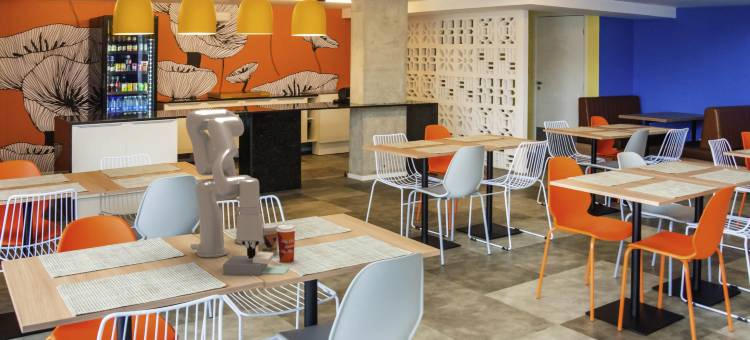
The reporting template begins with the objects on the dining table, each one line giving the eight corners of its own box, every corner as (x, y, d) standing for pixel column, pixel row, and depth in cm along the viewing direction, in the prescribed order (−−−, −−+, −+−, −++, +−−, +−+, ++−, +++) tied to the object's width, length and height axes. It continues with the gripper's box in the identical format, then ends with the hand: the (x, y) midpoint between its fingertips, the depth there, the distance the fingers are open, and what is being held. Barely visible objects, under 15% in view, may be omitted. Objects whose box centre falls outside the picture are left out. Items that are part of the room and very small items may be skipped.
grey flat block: (223, 274, 290) (223, 264, 289) (232, 265, 303) (232, 255, 302) (259, 275, 289) (259, 265, 288) (267, 265, 301) (267, 255, 301)
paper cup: (283, 264, 303) (282, 229, 301) (273, 260, 310) (272, 226, 307) (300, 261, 308) (299, 227, 306) (290, 257, 314) (289, 223, 312)
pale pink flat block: (252, 262, 290) (252, 257, 290) (258, 256, 299) (258, 251, 299) (268, 264, 290) (268, 258, 290) (273, 257, 299) (273, 252, 298)
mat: (261, 273, 291) (261, 273, 291) (267, 266, 300) (267, 265, 300) (284, 274, 290) (284, 273, 290) (289, 267, 300) (289, 266, 300)
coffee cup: (259, 257, 314) (258, 229, 312) (254, 252, 322) (253, 224, 320) (281, 255, 317) (281, 226, 315) (276, 250, 326) (275, 222, 324)
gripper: (227, 212, 289) (229, 260, 292) (266, 213, 287) (268, 260, 290) (233, 208, 296) (235, 254, 299) (271, 209, 295) (272, 255, 298)
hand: (251, 257), depth 295 cm, fingers closed
